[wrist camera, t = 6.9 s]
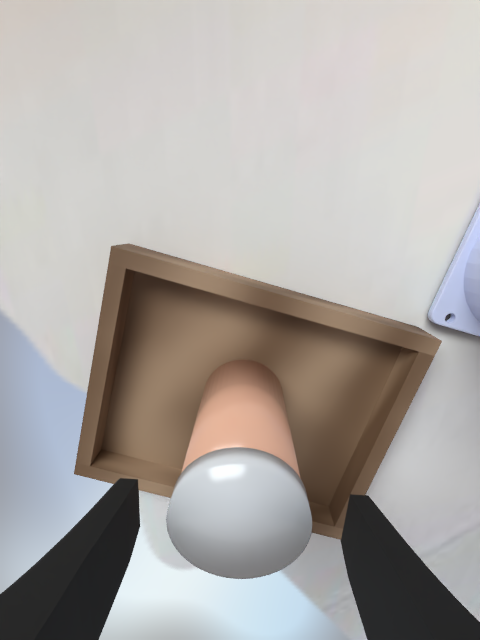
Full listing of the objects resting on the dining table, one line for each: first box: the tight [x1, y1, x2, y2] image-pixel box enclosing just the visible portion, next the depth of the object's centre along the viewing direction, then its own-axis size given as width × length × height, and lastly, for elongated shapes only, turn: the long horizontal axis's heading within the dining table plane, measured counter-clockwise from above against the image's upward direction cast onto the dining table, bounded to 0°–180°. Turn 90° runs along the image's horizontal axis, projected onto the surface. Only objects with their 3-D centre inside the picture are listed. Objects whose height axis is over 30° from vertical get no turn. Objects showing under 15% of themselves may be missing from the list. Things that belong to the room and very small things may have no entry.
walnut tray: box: [74, 244, 442, 540], centre depth 17 cm, size 16×13×2 cm
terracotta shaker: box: [166, 360, 312, 579], centre depth 14 cm, size 5×5×8 cm
